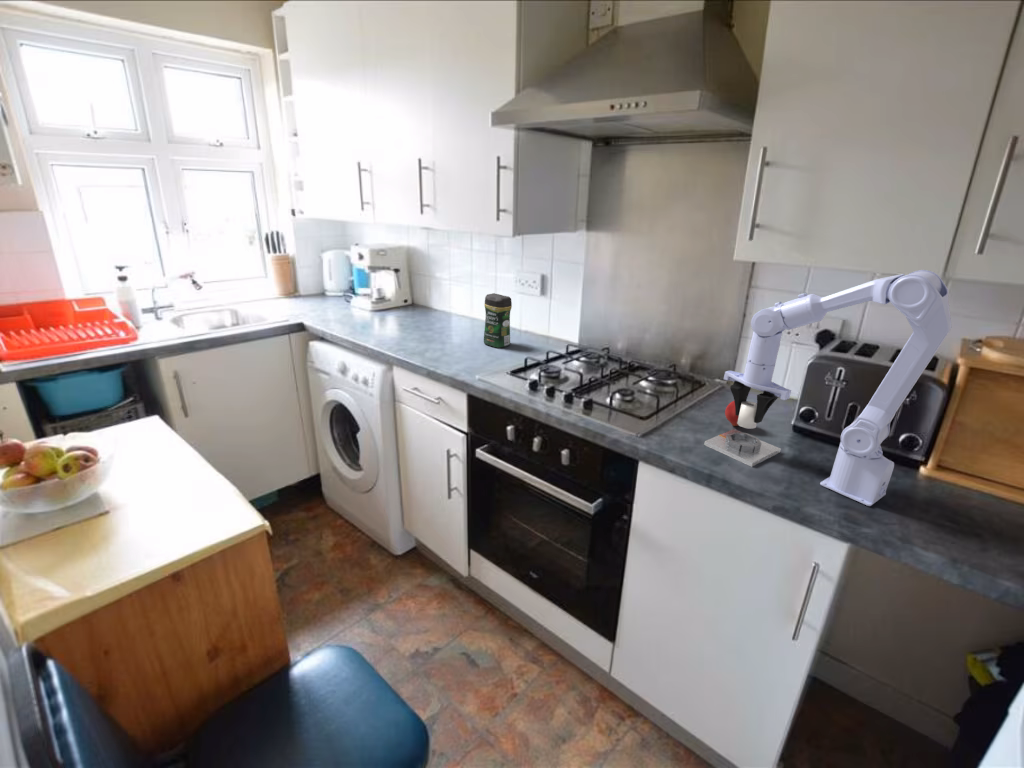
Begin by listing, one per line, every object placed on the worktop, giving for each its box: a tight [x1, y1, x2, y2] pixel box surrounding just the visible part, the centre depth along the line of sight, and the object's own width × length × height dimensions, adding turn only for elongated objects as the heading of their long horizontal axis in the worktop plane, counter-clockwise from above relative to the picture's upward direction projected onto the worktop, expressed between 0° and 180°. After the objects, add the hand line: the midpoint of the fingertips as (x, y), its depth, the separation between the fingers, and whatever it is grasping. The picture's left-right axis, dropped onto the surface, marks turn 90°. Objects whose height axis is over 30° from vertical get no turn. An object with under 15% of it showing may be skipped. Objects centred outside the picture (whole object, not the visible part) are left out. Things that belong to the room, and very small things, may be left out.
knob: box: [737, 400, 758, 430], centre depth 118 cm, size 4×4×5 cm
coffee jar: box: [483, 292, 513, 349], centre depth 188 cm, size 10×8×19 cm
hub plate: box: [703, 428, 782, 468], centre depth 121 cm, size 12×12×2 cm
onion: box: [724, 400, 739, 427], centre depth 132 cm, size 6×6×8 cm
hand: (748, 418), depth 119 cm, fingers closed on knob, 4 cm apart
